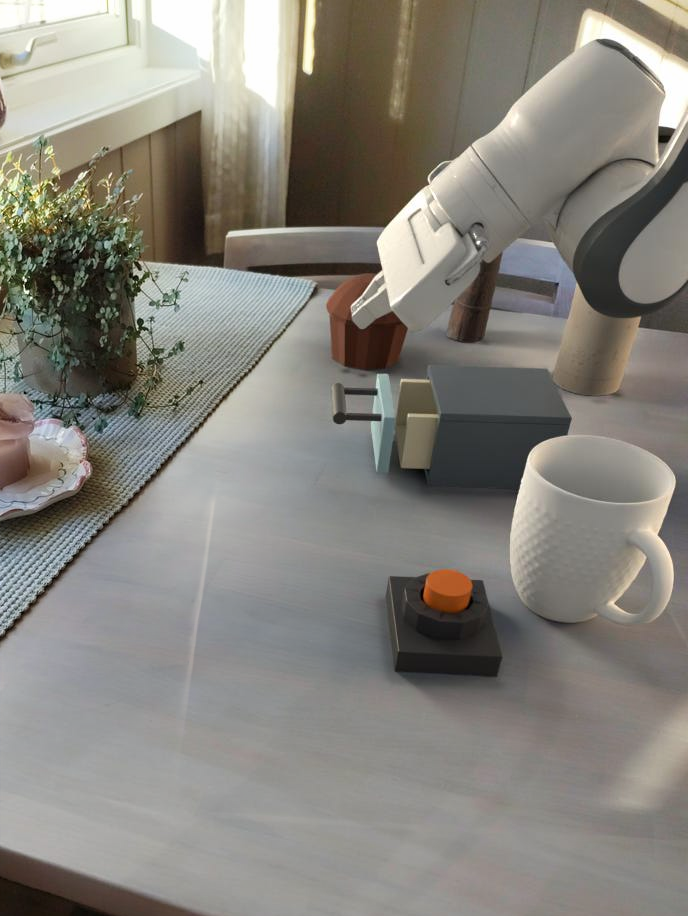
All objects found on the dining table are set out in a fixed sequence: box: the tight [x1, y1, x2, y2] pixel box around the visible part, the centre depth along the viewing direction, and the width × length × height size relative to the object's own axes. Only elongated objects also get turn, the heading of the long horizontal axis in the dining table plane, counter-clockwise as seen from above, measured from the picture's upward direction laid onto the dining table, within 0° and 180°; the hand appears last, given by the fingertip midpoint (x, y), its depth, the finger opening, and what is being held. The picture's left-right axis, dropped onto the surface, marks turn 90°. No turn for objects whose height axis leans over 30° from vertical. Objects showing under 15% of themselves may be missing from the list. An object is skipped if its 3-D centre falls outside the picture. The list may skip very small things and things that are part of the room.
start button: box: [423, 568, 473, 613], centre depth 72 cm, size 4×4×2 cm
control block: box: [385, 572, 503, 678], centre depth 73 cm, size 8×10×4 cm
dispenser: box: [424, 364, 573, 490], centre depth 94 cm, size 13×12×8 cm
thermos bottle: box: [552, 125, 676, 397], centre depth 103 cm, size 8×8×28 cm
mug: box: [509, 434, 676, 627], centre depth 72 cm, size 15×11×13 cm
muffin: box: [325, 272, 409, 371], centre depth 115 cm, size 12×11×10 cm
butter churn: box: [445, 98, 520, 343], centre depth 113 cm, size 9×10×28 cm
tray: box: [330, 373, 439, 474], centre depth 95 cm, size 16×10×6 cm, turn 85°
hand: (355, 319), depth 87 cm, fingers closed
